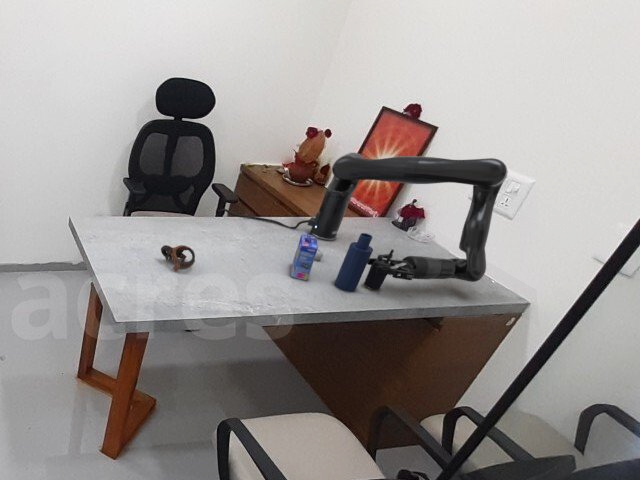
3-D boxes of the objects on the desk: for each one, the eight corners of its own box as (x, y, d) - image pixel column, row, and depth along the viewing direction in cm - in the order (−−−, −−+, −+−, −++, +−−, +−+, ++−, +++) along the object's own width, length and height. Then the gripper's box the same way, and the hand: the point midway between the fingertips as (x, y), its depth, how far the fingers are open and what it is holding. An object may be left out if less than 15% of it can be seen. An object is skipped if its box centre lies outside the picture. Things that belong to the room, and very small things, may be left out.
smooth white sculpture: (321, 264, 188) (312, 261, 186) (308, 253, 195) (299, 250, 193) (328, 254, 186) (319, 250, 184) (315, 243, 193) (305, 240, 191)
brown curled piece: (192, 261, 179) (201, 249, 171) (183, 282, 174) (192, 270, 167) (161, 246, 179) (168, 233, 172) (151, 267, 175) (158, 254, 168)
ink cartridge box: (290, 264, 183) (303, 227, 175) (306, 268, 182) (320, 230, 174) (290, 277, 175) (304, 238, 167) (307, 281, 174) (321, 242, 166)
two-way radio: (381, 289, 174) (399, 250, 165) (377, 293, 171) (395, 254, 162) (364, 282, 177) (381, 243, 168) (360, 286, 174) (377, 248, 165)
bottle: (332, 286, 172) (353, 235, 162) (336, 279, 177) (357, 229, 167) (352, 294, 169) (375, 242, 159) (357, 286, 174) (379, 235, 164)
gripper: (412, 247, 175) (365, 245, 173) (439, 268, 163) (389, 266, 161) (403, 267, 179) (357, 264, 177) (429, 288, 167) (380, 286, 165)
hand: (372, 265), depth 169 cm, fingers closed on two-way radio, 5 cm apart
